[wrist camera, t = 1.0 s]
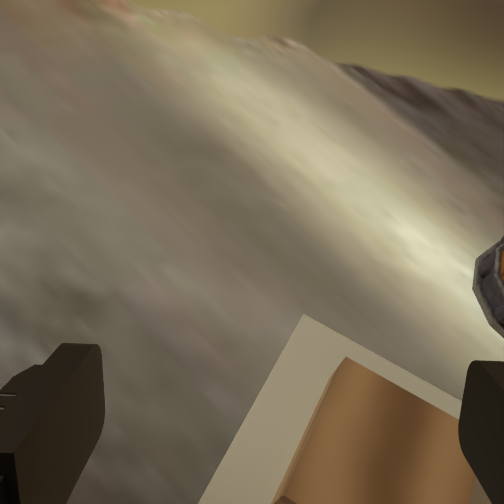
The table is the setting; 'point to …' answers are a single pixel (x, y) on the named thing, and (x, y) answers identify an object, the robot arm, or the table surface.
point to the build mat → (302, 413)
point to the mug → (491, 285)
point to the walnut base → (376, 447)
